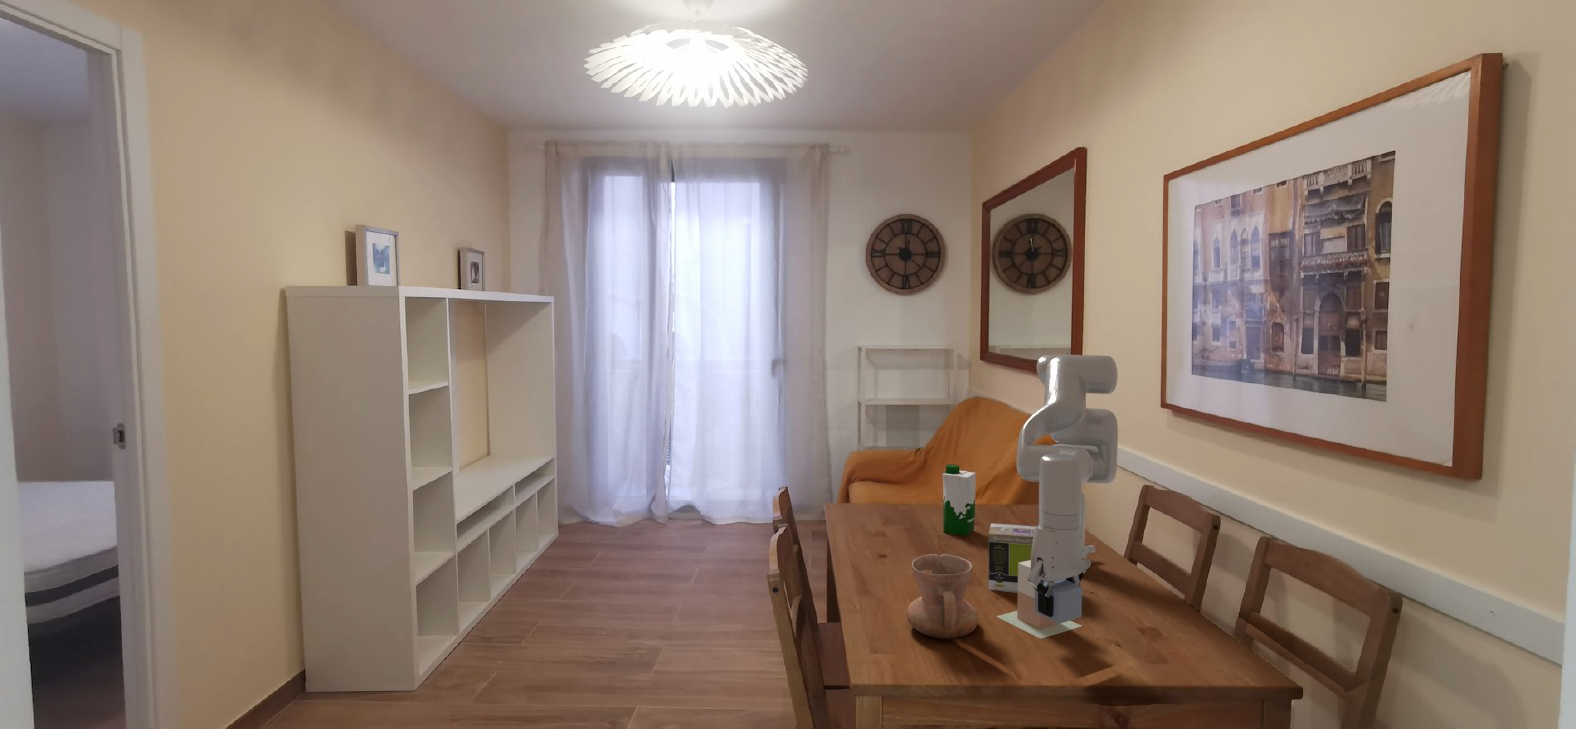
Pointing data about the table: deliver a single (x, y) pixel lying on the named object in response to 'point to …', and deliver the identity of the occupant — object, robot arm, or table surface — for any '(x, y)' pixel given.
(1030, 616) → the terracotta brick
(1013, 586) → the tea box
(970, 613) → the ceramic jug
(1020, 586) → the cream brick
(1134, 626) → the table surface
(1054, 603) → the slate brick
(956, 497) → the milk carton
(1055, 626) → the plate
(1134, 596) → the table surface
